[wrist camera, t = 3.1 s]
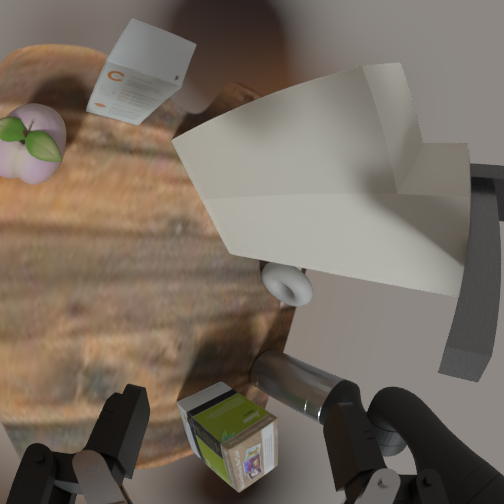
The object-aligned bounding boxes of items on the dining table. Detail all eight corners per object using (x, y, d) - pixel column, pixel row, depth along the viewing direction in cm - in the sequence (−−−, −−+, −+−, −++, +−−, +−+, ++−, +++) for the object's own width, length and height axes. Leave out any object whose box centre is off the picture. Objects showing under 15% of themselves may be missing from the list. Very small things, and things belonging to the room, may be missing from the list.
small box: (151, 88, 31) (199, 43, 21) (138, 126, 31) (182, 89, 21) (100, 72, 25) (132, 16, 16) (83, 111, 25) (105, 61, 16)
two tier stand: (229, 253, 44) (461, 297, 19) (170, 140, 34) (442, 54, 9) (280, 208, 51) (471, 218, 25) (237, 109, 41) (447, 57, 16)
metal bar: (435, 379, 13) (497, 394, 9) (447, 335, 10) (526, 351, 7) (472, 201, 24) (505, 204, 21) (470, 163, 22) (505, 166, 18)
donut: (281, 289, 53) (323, 301, 46) (271, 302, 52) (313, 316, 45) (260, 252, 48) (305, 260, 41) (248, 266, 47) (293, 276, 39)
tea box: (229, 429, 49) (279, 466, 38) (190, 449, 42) (237, 495, 31) (221, 378, 46) (281, 418, 35) (174, 399, 39) (228, 452, 28)
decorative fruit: (75, 131, 25) (86, 101, 18) (53, 195, 25) (52, 185, 18) (16, 114, 19) (7, 78, 12) (-9, 178, 19) (-31, 162, 11)
